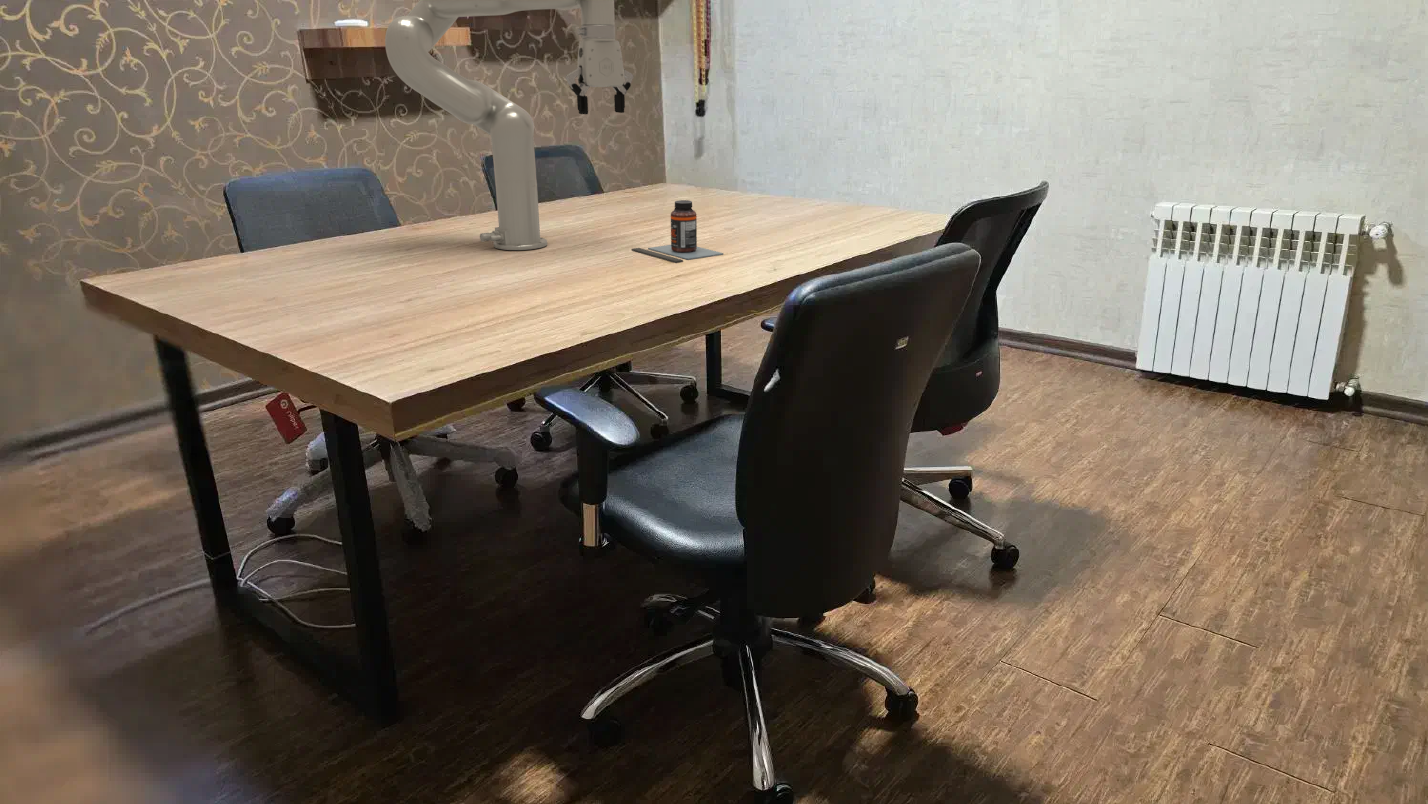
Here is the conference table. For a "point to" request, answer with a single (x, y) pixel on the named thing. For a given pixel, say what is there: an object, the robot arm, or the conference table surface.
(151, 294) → the conference table surface
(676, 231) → the supplement bottle
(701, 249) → the pad
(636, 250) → the bar
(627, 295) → the conference table surface
